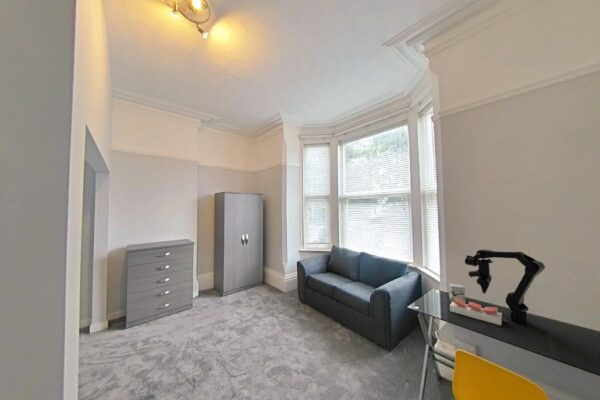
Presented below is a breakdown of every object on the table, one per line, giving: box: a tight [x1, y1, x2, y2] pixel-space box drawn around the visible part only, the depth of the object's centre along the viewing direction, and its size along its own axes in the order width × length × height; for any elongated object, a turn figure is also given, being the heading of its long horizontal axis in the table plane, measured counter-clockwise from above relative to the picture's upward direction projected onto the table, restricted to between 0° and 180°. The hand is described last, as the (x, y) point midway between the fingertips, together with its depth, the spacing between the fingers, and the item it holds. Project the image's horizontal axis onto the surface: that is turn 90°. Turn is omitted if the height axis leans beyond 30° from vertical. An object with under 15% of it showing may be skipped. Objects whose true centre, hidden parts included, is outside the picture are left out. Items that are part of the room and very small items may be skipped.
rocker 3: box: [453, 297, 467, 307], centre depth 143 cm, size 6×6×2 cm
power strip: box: [449, 301, 509, 326], centre depth 137 cm, size 28×9×4 cm, turn 44°
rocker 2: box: [467, 301, 482, 311], centre depth 138 cm, size 6×6×2 cm
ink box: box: [448, 283, 466, 303], centre depth 157 cm, size 9×5×12 cm, turn 73°
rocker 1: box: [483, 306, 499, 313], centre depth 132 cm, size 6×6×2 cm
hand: (484, 291), depth 145 cm, fingers open, 9 cm apart
